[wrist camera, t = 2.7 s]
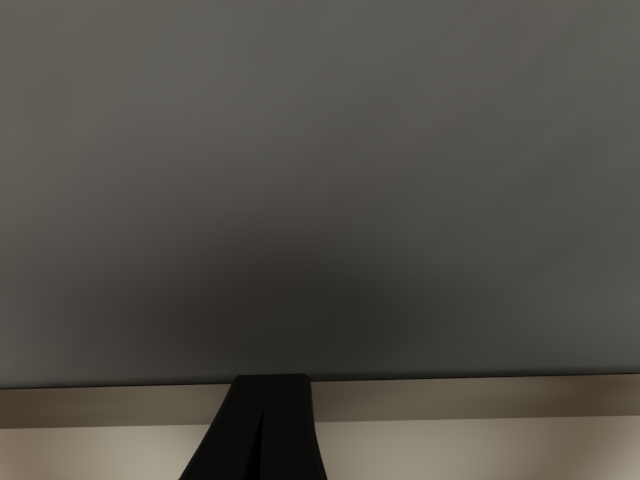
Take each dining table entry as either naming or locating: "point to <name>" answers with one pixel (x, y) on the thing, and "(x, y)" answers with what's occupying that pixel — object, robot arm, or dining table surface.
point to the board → (342, 429)
